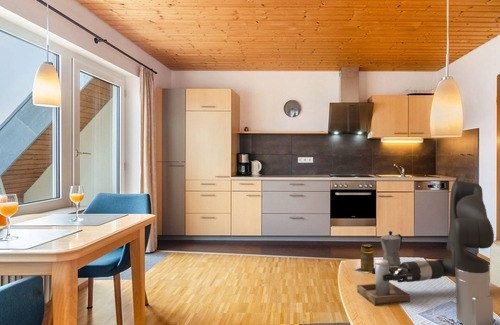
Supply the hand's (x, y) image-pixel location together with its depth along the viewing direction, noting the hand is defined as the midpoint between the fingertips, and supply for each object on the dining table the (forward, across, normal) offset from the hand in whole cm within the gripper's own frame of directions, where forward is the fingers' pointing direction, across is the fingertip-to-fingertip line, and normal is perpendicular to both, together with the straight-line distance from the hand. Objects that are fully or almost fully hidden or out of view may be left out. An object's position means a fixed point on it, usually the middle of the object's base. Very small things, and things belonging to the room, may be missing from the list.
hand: (377, 274), depth 139 cm
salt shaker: (-2, 0, +8) cm, 8 cm away
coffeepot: (-26, -33, +9) cm, 43 cm away
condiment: (-12, -33, +9) cm, 36 cm away
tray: (-2, 0, +9) cm, 9 cm away
